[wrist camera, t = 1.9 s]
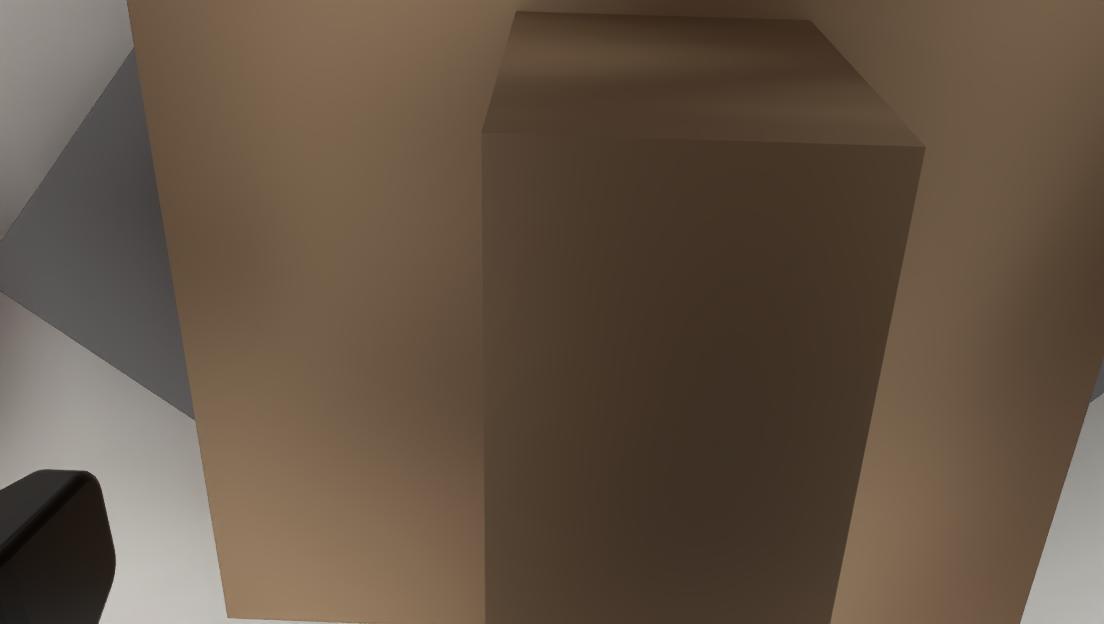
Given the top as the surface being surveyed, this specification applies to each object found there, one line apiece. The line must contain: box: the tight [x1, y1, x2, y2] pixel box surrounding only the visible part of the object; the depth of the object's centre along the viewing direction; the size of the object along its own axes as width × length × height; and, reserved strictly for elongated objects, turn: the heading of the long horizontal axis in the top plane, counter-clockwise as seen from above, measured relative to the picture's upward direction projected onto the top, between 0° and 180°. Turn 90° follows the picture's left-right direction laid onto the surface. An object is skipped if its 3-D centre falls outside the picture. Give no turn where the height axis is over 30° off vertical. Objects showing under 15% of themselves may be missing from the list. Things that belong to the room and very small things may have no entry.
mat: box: [0, 48, 1104, 420], centre depth 13 cm, size 12×12×1 cm
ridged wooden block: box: [127, 0, 1104, 624], centre depth 11 cm, size 11×11×5 cm
